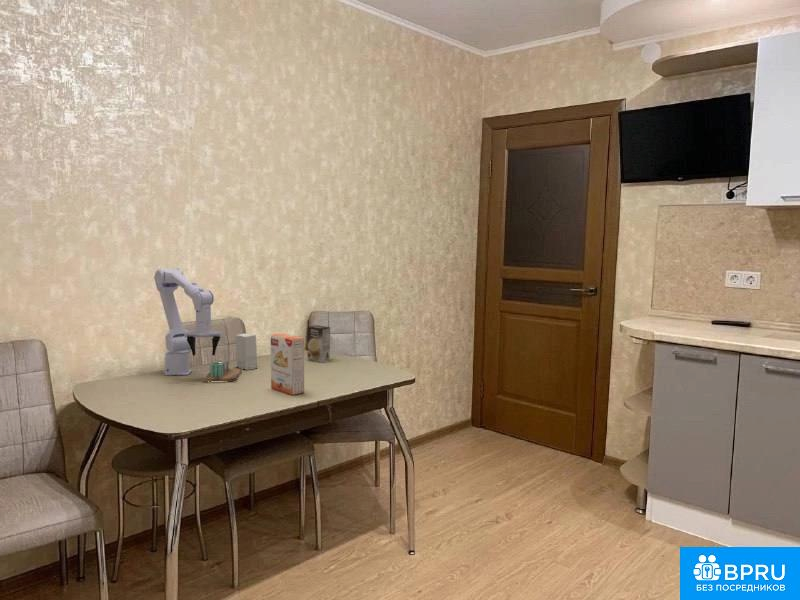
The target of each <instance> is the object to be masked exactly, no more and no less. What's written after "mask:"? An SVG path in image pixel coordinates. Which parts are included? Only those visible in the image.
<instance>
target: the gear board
mask: <svg viewBox="0 0 800 600" xmlns="http://www.w3.org/2000/svg"><path fill="white" fill-rule="evenodd" d="M242 370H243V369H241V368H229V371H226V372H223V373H224V375H223V376H222V377H210V372H209V373H208V374H207V375H206V376H205V377H204V378H203V379H204V383H212V382H211V381H232V382H231V383H234V382H233V381H236V380H237V381H238V379H239V378H238V377H240V376H241V374H242V373H243V371H242ZM241 372H242V373H241ZM240 373H241V374H240ZM239 375H240V376H239ZM237 378H238V379H237ZM208 381H209V382H208ZM237 381H236V382H237Z"/></svg>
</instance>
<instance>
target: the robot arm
mask: <svg viewBox="0 0 800 600" xmlns="http://www.w3.org/2000/svg"><path fill="white" fill-rule="evenodd" d="M153 279H154V282H155V286H156V290H157V291H158V292H159V296H160V300H161V302H162V307H163V310H164V314H165V318H166V321H167V324H168V325H167V326H168V329H169V331H168V332H167V334H166V335H165V336H164V338H165V348H166V350H167V351H168V352H165V354H164V375H165V376H176V375H177V376H184V375H186V376H188V375H189V374H190V373H191V372H193V369H190V352H191V354H192V356H193V357H194V356H196V338H211V342H212V356H215V355H216V352H217V351H216V350H217V346H218V343H219V342H220V340H221V338H223V337H224V336H223V334H224V332H223V331H212V317H211V316H212V310H211V309H212V307H211V306H212V305H213V304H214V301H215V297H214V294H213V292H212V291H211V290H204V288H203V287H201V286H199V284H198V283H197V282H196V281H190V280H188V279H187V277H186V276H184V272H183V270H181V269H180V268H165V269H162V268H158V269H156V271H155V272H154V277H153ZM179 287H180V288H182V289H183V292H184V294H185V295H187V296H188V297H189V298H190V299H191V300H192V304H193V309H194V311H195V331H189V330H188V329H186V328H184V327H183V324H182V323H183V322H182V320H181V316H180V313H179V309H178V305H177V301H176V297H175V294H174V293H175V291H176V290H178V288H179Z"/></svg>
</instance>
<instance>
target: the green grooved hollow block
mask: <svg viewBox="0 0 800 600" xmlns="http://www.w3.org/2000/svg"><path fill="white" fill-rule="evenodd" d="M209 368H210V369H209V370H210V371H209V373H210V377H222V376H223V375H224V373H223V362H213V361H212V362H211V363H210V365H209Z"/></svg>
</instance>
